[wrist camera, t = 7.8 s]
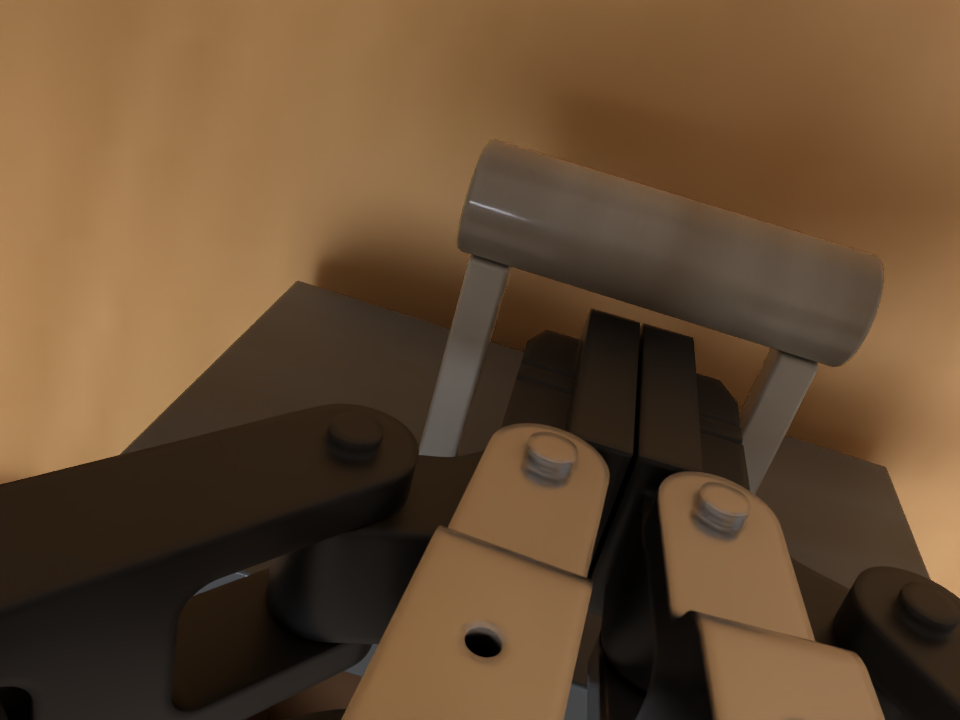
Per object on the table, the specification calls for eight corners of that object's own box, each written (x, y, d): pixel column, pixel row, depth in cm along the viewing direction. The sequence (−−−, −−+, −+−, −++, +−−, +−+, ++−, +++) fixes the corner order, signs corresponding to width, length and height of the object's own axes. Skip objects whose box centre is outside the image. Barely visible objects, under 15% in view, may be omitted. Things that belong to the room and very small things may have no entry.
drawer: (341, 13, 17) (71, 92, 9) (1029, 220, 17) (1351, 490, 9) (221, 731, 27) (43, 1056, 20) (647, 878, 27) (639, 1276, 19)
